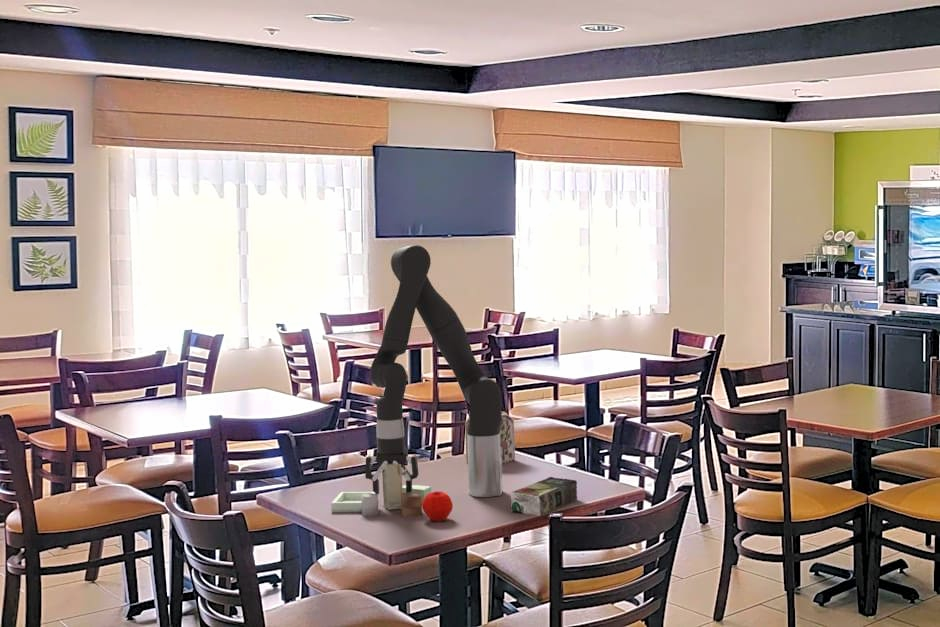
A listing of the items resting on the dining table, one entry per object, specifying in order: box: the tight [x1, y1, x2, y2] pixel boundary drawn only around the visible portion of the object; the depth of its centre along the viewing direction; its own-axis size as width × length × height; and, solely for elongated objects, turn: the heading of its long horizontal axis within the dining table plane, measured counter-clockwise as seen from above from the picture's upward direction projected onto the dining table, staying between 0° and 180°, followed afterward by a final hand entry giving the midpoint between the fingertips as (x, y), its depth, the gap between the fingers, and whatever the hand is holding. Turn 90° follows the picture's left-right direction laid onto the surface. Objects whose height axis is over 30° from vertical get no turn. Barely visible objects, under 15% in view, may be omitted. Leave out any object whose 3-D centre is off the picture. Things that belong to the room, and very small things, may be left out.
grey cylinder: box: [361, 494, 380, 517], centre depth 281 cm, size 4×4×5 cm
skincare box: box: [381, 464, 403, 511], centre depth 288 cm, size 6×4×12 cm
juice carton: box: [510, 476, 578, 516], centre depth 284 cm, size 20×10×6 cm, turn 143°
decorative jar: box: [464, 411, 516, 464], centre depth 341 cm, size 12×12×18 cm
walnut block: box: [400, 492, 423, 517], centre depth 281 cm, size 5×5×5 cm
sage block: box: [402, 484, 432, 502], centre depth 294 cm, size 8×4×4 cm, turn 63°
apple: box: [422, 490, 454, 522], centre depth 273 cm, size 8×8×7 cm
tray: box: [330, 491, 375, 513], centre depth 290 cm, size 10×12×2 cm
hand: (392, 493), depth 288 cm, fingers open, 8 cm apart
